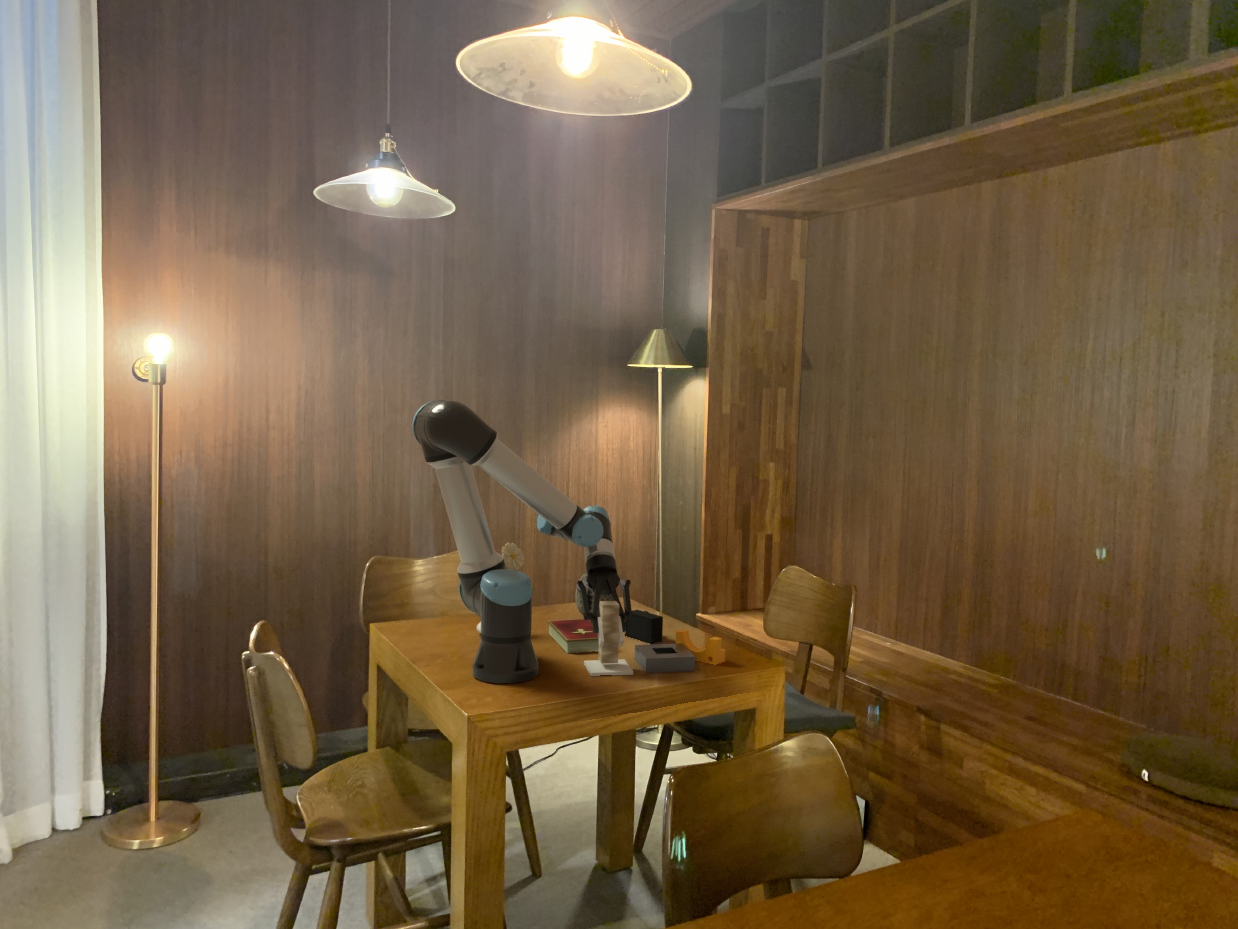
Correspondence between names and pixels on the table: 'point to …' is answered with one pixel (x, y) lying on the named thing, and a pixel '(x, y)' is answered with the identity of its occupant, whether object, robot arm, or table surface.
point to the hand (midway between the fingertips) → (611, 643)
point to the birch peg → (609, 631)
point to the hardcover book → (574, 635)
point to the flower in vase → (510, 561)
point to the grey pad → (608, 668)
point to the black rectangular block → (644, 627)
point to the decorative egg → (590, 597)
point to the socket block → (664, 658)
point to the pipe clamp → (708, 654)
